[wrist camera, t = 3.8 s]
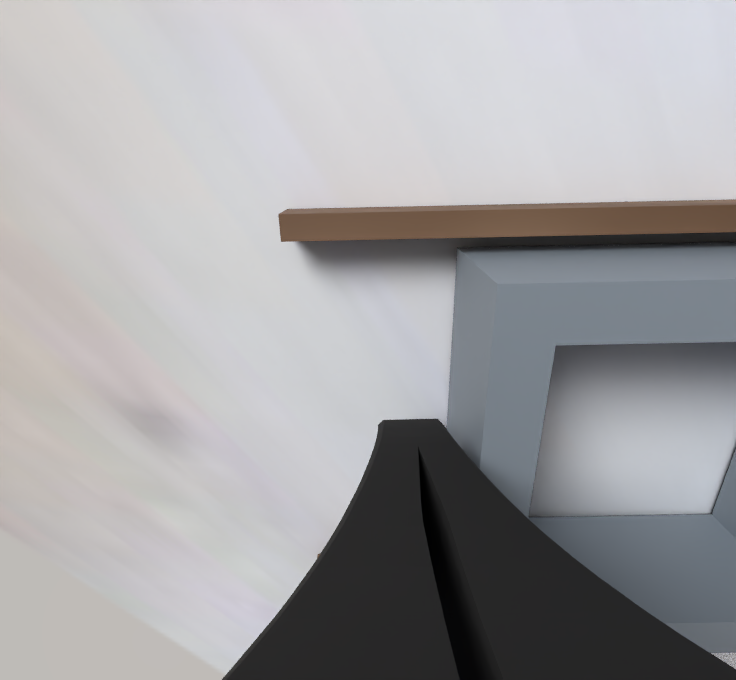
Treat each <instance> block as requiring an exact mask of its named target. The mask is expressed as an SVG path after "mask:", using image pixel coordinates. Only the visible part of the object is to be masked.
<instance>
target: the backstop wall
mask: <svg viewBox="0 0 736 680" xmlns="http://www.w3.org/2000/svg"><path fill="white" fill-rule="evenodd" d="M279 225H280V235H281V242H285V241H332V240H380V239H428V238H475V237H523V236H570V235H618V234H666V233H713V232H736V200H694V201H647V202H600V203H553V204H506V205H459V206H413V207H366V208H319V209H287V210H285V211H283V212H282V213H280V214H279ZM319 555H320V554H318V557H319ZM318 557H317V559H318Z"/></svg>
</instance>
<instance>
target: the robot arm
mask: <svg viewBox="0 0 736 680" xmlns="http://www.w3.org/2000/svg"><path fill="white" fill-rule="evenodd" d="M222 680H736V669H734V668H733V667H731V666H730V665H728V664H727V663H725V662H723V661H722V660H720V659H719V658H717V657H716V656H714V655H712V654H711V653H709V652H708V651H706V650H705V649H703V648H701V647H700V646H698V645H697V644H695V643H693V642H692V641H690V640H689V639H687V638H686V637H684V636H682V635H681V634H679V633H678V632H676V631H675V630H673V629H672V628H671V627H669V626H668V625H666V624H665V623H663V622H662V621H660V620H659V619H657V618H656V617H654V616H653V615H651V614H650V613H648V612H647V611H645V610H644V609H642V608H641V607H640V606H638V605H637V604H635V603H634V602H633V601H631V600H630V599H629V598H627V597H626V596H624V595H623V594H622V593H620V592H619V591H617V590H616V589H615V588H613V587H612V586H611V585H609V584H608V583H606V582H605V581H604V580H602V579H601V578H599V577H598V576H597V575H596V574H594V573H593V572H592V571H590V570H589V569H588V568H586V567H585V566H584V565H583V564H581V563H580V562H579V561H577V560H576V559H575V558H574V557H572V556H571V555H570V554H569V553H568V552H566V551H565V550H564V549H563V548H562V547H560V546H559V545H558V544H557V543H556V542H554V541H553V540H552V539H551V538H550V537H548V536H547V535H546V534H545V533H544V532H542V531H541V530H540V529H539V528H538V527H537V526H536V525H535V524H534V523H532V522H531V521H530V520H529V519H528V518H527V517H526V516H525V515H524V514H523V513H522V512H521V511H520V510H519V509H518V508H517V507H516V506H515V505H514V504H513V503H512V502H510V501H509V500H508V499H507V498H506V497H505V496H504V494H503V493H502V492H501V491H500V490H499V489H498V488H497V487H496V486H495V485H494V484H493V483H492V482H491V481H490V480H489V479H488V478H487V477H486V475H485V474H484V473H483V472H482V471H481V470H480V469H479V468H478V467H477V466H476V464H475V463H474V462H473V461H472V460H471V459H470V458H469V456H468V455H467V454H466V453H465V452H464V450H463V449H462V448H461V447H460V446H459V444H458V443H457V442H456V441H455V440H454V438H453V437H452V436H451V434H450V433H449V432H448V431H447V429H446V428H445V427H444V425H443V424H442V423H441V422H440V421H439V420H438V419H409V420H383V421H382V422H381V423H380V424H379V425H378V434H377V438H376V442H375V446H374V449H373V452H372V455H371V458H370V460H369V463H368V465H367V468H366V470H365V472H364V475H363V477H362V480H361V482H360V484H359V486H358V488H357V490H356V492H355V494H354V496H353V498H352V500H351V502H350V504H349V506H348V508H347V510H346V512H345V514H344V516H343V518H342V519H341V521H340V523H339V525H338V526H337V528H336V530H335V531H334V533H333V535H332V536H331V538H330V540H329V541H328V543H327V545H326V546H325V548H324V549H323V551H322V552H321V554H320V555H319V557H318V559H317V560H316V562H315V563H314V564H313V566H312V567H311V569H310V570H309V571H308V573H307V574H306V576H305V577H304V579H303V580H302V581H301V583H300V584H299V586H298V587H297V588H296V590H295V591H294V593H293V594H292V595H291V597H290V598H289V599H288V601H287V602H286V603H285V605H284V606H283V607H282V608H281V610H280V611H279V612H278V614H277V615H276V616H275V617H274V619H273V620H272V621H271V622H270V623H269V625H268V626H267V627H266V628H265V629H264V631H263V632H262V633H261V634H260V635H259V636H258V638H257V639H256V640H255V641H254V642H253V644H252V645H251V646H250V647H249V648H248V650H247V651H246V652H245V653H244V654H243V656H242V657H241V658H240V659H239V660H238V661H237V663H236V664H235V665H234V666H233V667H232V669H231V670H230V671H229V672H228V673H227V674H226V675H225V677H224V678H223V679H222Z"/></svg>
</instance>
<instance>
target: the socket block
mask: <svg viewBox="0 0 736 680" xmlns="http://www.w3.org/2000/svg"><path fill="white" fill-rule="evenodd" d="M704 342H736V242H711V243H663V244H615V245H567V246H519V247H472V248H457V262H456V279H455V296H454V313H453V330H452V347H451V364H450V381H449V398H448V416H447V431H448V432H449V433H450V434H451V436H452V437H453V438H454V440H455V441H456V442H457V443H458V444H459V446H460V447H461V448H462V449H463V450H464V452H465V453H466V454H467V455H468V456H469V458H470V459H471V460H472V461H473V462H474V463H475V464H476V466H477V467H478V468H479V469H480V470H481V471H482V472H483V473H484V474H485V475H486V477H487V478H488V479H489V480H490V481H491V482H492V483H493V484H494V485H495V486H496V487H497V488H498V489H499V490H500V491H501V492H502V493H503V494H504V496H505V497H506V498H507V499H508V500H509V501H510V502H512V503H513V504H514V505H515V506H516V507H517V508H518V509H519V510H520V511H521V512H522V513H523V514H524V515H525V516H526V517H527V518H528V517H529V511H530V505H531V498H532V492H533V486H534V479H535V473H536V467H537V461H538V454H539V448H540V442H541V435H542V429H543V423H544V416H545V410H546V404H547V397H548V391H549V385H550V379H551V372H552V366H553V360H554V353H555V347H556V345H603V344H653V343H704ZM528 519H529V520H530V521H531V522H532V523H534V524H535V525H536V526H537V527H538V528H539V529H540V530H541V531H542V532H544V533H545V534H546V535H547V536H548V537H550V538H551V539H552V540H553V541H554V542H556V543H557V544H558V545H559V546H560V547H562V548H563V549H564V550H565V551H566V552H568V553H569V554H570V555H571V556H572V557H574V558H575V559H576V560H577V561H579V562H580V563H581V564H583V565H584V566H585V567H586V568H588V569H589V570H590V571H592V572H593V573H594V574H596V575H597V576H598V577H599V578H601V579H602V580H604V581H605V582H606V583H608V584H609V585H611V586H612V587H613V588H615V589H616V590H617V591H619V592H620V593H622V594H623V595H624V596H626V597H627V598H629V599H630V600H631V601H633V602H634V603H635V604H637V605H638V606H640V607H641V608H642V609H644V610H645V611H647V612H648V613H650V614H651V615H653V616H654V617H656V618H657V619H659V620H660V621H662V622H663V623H665V624H666V625H668V626H669V627H671V628H672V629H673V630H675V631H676V632H678V633H679V634H681V635H682V636H684V637H686V638H687V639H689V640H690V641H692V642H693V643H695V644H697V645H698V646H700V647H701V648H703V649H705V650H706V651H708V652H709V653H731V652H736V450H735V452H734V455H733V458H732V460H731V463H730V466H729V469H728V471H727V474H726V477H725V479H724V482H723V485H722V488H721V490H720V493H719V496H718V498H717V501H716V504H715V507H714V509H713V512H712V514H694V515H639V516H584V517H529V518H528Z"/></svg>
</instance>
